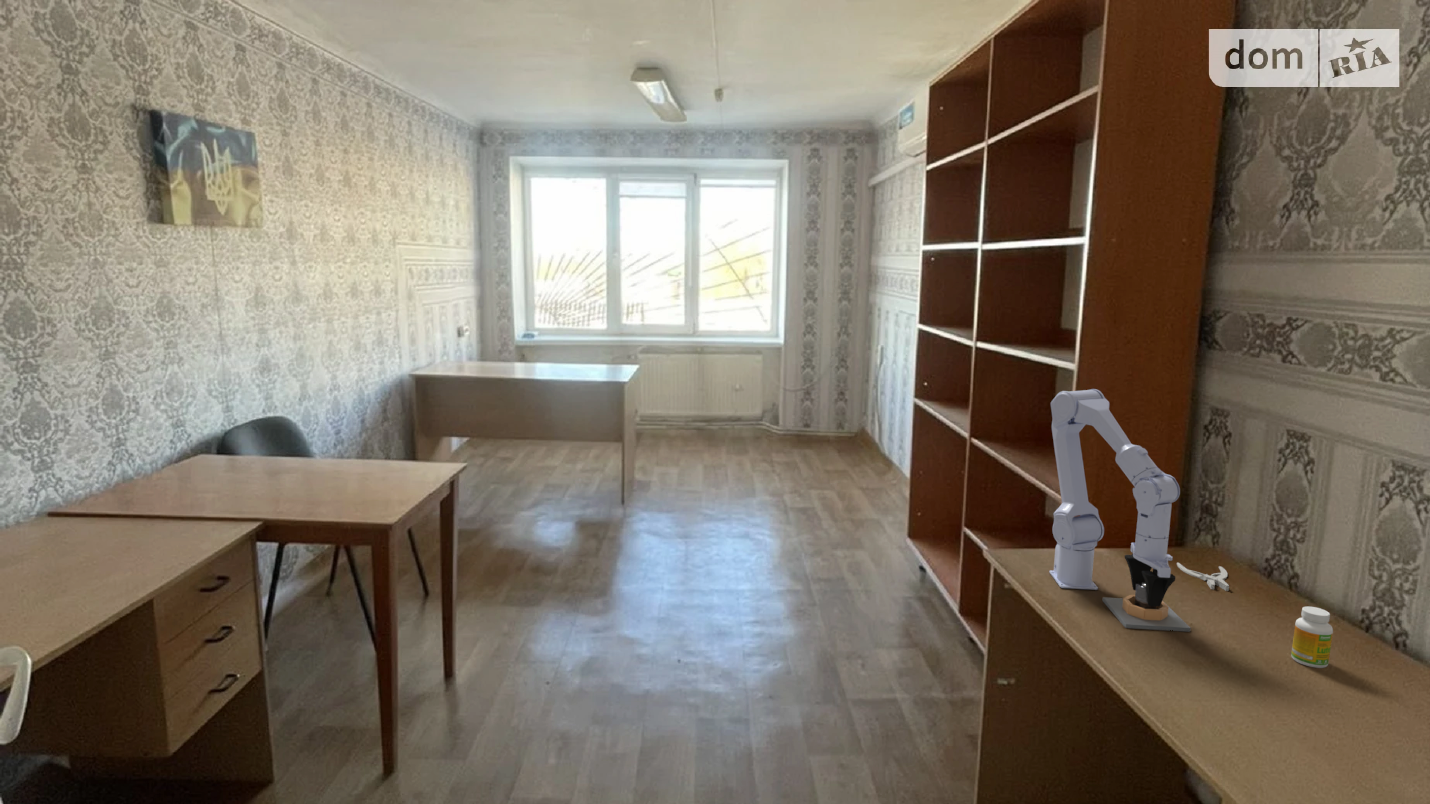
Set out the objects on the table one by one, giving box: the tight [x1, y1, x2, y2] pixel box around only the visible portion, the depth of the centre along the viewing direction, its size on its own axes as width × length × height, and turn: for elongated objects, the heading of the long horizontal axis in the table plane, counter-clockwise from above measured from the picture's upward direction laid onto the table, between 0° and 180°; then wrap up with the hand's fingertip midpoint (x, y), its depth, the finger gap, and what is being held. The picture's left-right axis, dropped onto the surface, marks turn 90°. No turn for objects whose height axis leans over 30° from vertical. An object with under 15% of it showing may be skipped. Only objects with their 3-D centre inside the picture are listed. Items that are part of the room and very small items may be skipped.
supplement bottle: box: [1290, 606, 1334, 669], centre depth 139 cm, size 5×5×10 cm
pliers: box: [1176, 562, 1230, 592], centre depth 178 cm, size 10×2×15 cm
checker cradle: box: [1102, 594, 1192, 633], centre depth 158 cm, size 13×12×3 cm
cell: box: [1134, 582, 1157, 609], centre depth 158 cm, size 4×4×6 cm
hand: (1146, 597), depth 158 cm, fingers open, 7 cm apart
